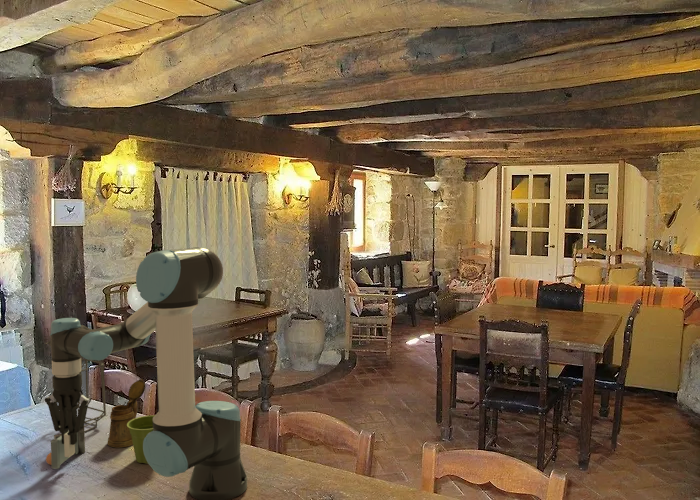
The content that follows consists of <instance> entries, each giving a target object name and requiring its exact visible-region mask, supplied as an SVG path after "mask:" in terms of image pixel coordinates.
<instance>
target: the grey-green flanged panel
mask: <svg viewBox="0 0 700 500" xmlns="http://www.w3.org/2000/svg"><path fill="white" fill-rule="evenodd" d="M50 453H51V463H52V465H51V469H53V470H54V469H55V470H58V469H60V468H61V465H62V464H64V462H66V461H67V460H68V459H70V458H71V457H72V456H70V457H65V451H64V444H62V436H60V437H59V438H57V439H54V438H52V440H50ZM77 453H78V432H77V443H75V454H77ZM75 454H74V455H75Z"/></svg>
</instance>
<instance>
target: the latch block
mask: <svg viewBox="0 0 700 500" xmlns="http://www.w3.org/2000/svg"><path fill="white" fill-rule="evenodd" d="M60 436H62V434H61V433H57V434H54V435H53V439H57V438H59V437H60Z"/></svg>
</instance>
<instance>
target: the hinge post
mask: <svg viewBox="0 0 700 500" xmlns="http://www.w3.org/2000/svg"><path fill="white" fill-rule="evenodd" d="M85 431H86V430H85V427H84V428H83V429H82V430H81V431H79V432H78V453H77V454H74V455H76V456H77V455H78V456H79V455H82V454H85V453H86V435H85V433H86V432H85Z"/></svg>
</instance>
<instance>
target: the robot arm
mask: <svg viewBox="0 0 700 500" xmlns="http://www.w3.org/2000/svg"><path fill="white" fill-rule="evenodd" d="M223 274H224V267H223V262H222V261H221V259H220V258H219V256H217V254H216V253H215V252H213V251H212V250H210V249H208V248H205V247H199V246H197V247H190V248H178V249H176V248H175V249H166V250H165V249H162V250H160V251H159V250H158V251H155V252H151V253H149V254H147V255H146V256H145V257H144V258H143V260H142V261H140V263H139V265H138V266H137V270H136V275H135V284H136V285H135V286H136V289H137V292H139V296H140V297H141V298H142V299H143V300H144V301H145V302H146V303H145V304H143V305H142V306H141V307H140V308H138V309H137V310H136V311H135V312H134V313H132V314H131V315H130V316H129V317H128V318H126V319H125V320H124V321H123V322H121V323H117V324H113V325H108V326H103V327H99V328H95V329H94V328H93V329H91V330H85V329H81V325H82V324H81V320H80V319H79V318H76V317H62V318H58V319H55V320H53V321H51V324H50V334H49V336H50V341H51V346H50V351H51V374H52V375H53V376H52V378H51V379H52V380H51V381H52V382H51V383H52V389H53V391H52V394H51V395H49V396H47V397H45V398H44V401H45V402H44V403H46V405H47V407H48V410H49V415H50V419H51V421H52V424H53V425H52V426H53V430H54V431H55V432H59V433H60V434H62V444H64V451H65V457H69V458H71V457H72V456H73V455H75V443H77V432H79V431H81V430H82V429H83V428H84V429H85V427H84V426H85V421H86V416H87V414H88V413H87V412H88V409H89V408H88V407H89V405H90V403H91V402H92V398H91V397H88V398H86V395H84V392H83V390H82V389H81V388H82V387H83V374H82V371H81V370H83V368H82V369H81V357H82V358H83V359H88V360H92V361H97V362H99V360H100V361H102V360H103V361H104V360H105V359H107V358H108V357H109V356H110V355H111V354H113V353H116V352H121V351H125V350H129V349H133V348H139V347H140V346H144V345H145V344H147V343H148V342H149V340H150V337H151V334H152V333H154V332H155V346H156V347H155V348H156V365H157V366H156V370H157V372H156V373H157V376H156V377H157V396H158V398H157V399H158V412H157V413H156V414H155V416H154V417H153V431H152V432H149V433H148V434H147V435H146V437H145V438H144V441H143V452H144V455H145V458H146V460H147V462H148V464H147V465H149V466H150V467H151V469H152V470H153V471H154V472H155V473H157V474H158V475H159V476H162V477H166V478H171V477H175V476H177V475H179V474H183V473H185V472H186V471H187V470H189V469H192V468H193V469H192V472H191V475H190V478H189V481H188V488H189V489H188V493H189V495H190V496H191V497H192V498H194V499H196V500H232V499H235V498H237V497H239V496H241V495H243V493H245V492H246V491H247V489H248V477H247V474H246V471H245V468H244V464H243V462H242V459H241V421H242V420H241V412H240V411H241V410H240V408H239V406H238V405H237V404H235V403H233V402H230V401H229V402H228V401H224V400H206V401H200V402H199V403H198V402H197V403H196V394H195V393H196V390H195V361H194V359H195V357H194V355H195V354H194V336H193V335H194V332H193V331H194V329H193V328H194V327H193V311H194V310H195V309H196V308H197V307H198V306H199V300H203V298H205V297H207V296H208V295H210V293H212V292H213V291H214V290H215V289H217V288H218V286H219V285H220V283H221V281H222V280H223ZM80 372H81V373H80ZM79 400H80V404H81V405H80V407H79V411H78V409H77V407H78V402H79ZM70 456H71V457H70Z"/></svg>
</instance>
